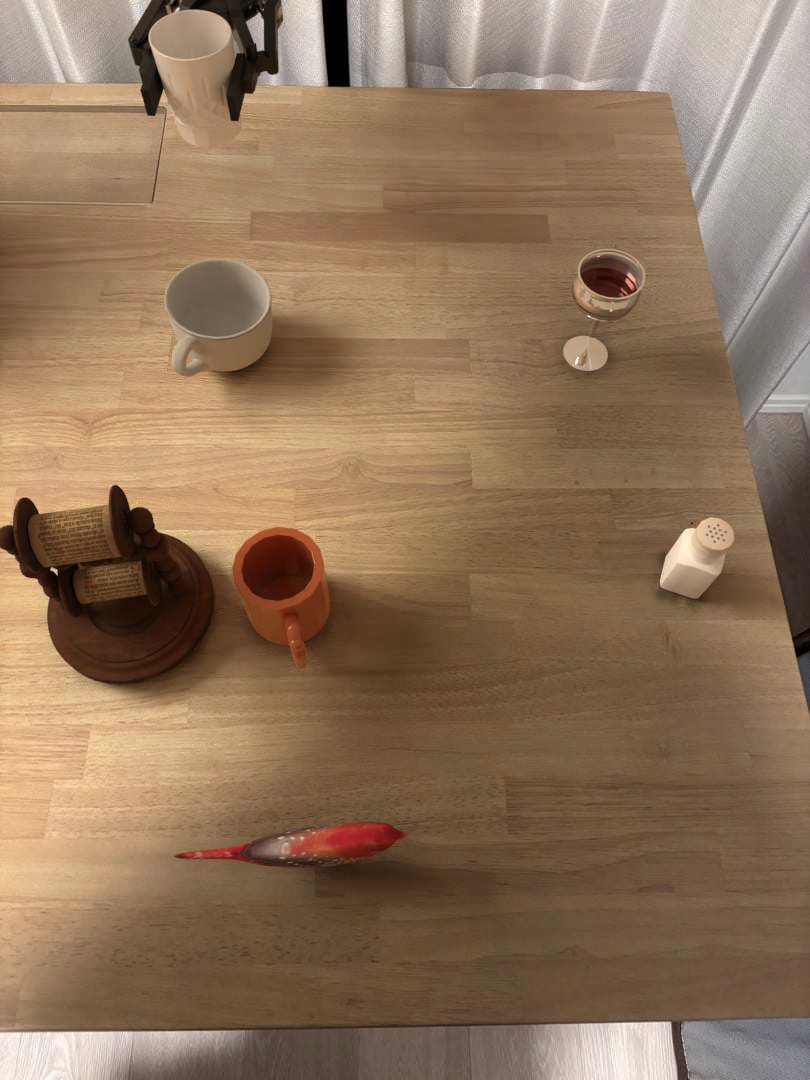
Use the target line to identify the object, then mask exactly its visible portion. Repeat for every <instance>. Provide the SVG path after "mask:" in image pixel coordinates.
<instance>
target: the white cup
mask: <svg viewBox="0 0 810 1080" xmlns="http://www.w3.org/2000/svg"><path fill="white" fill-rule="evenodd" d="M149 43H150V46H151V50H152V53H153V56H154V59H155V62H156V66H157V69H158V72H159V75H160V79H161V82H162V85H163V88H164V89H163V92H164V93H165V97H166V99H167V104H168V106H169V108H170V111H171V113H172V115H173V119H174V123H175V126H176V130H177V133H178V134H179V135H180V137H181V138H182V139H183V141H184V142H185V143H188V144H190V145H192V146H194V147H196V148H204V149H213V148H218V147H221V146H225V145H227V144H229V143H231V142H233V141H234V140H235V139H236V138H237V137H238V135H239V134H240V132H241V131H242V114H241V113H240V117H239V121H231V119H230V114H229V109H228V103H227V98H226V94H227V90H228V86H229V82H230V78H231V74H232V70H233V66H234V63H235V58H236V54H235V48H234V47H235V46H234V38H233V35H232V31H231V27H230V25H229V23H228V22H227V21H226V20H225V19H224V18H222V17H221V16H219V15H217V14H215V13H212V12H209V11H204V10H183V11H179V10H178V11H175V12H174V13H171V14H169V15H167V16H165V17H163V18H161V19H160V20H158V21H157V22H156V23H155V24H154V25H153V26H152V28H151V30H150V32H149Z"/></svg>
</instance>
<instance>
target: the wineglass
mask: <svg viewBox="0 0 810 1080" xmlns="http://www.w3.org/2000/svg"><path fill="white" fill-rule="evenodd" d="M645 282H646V271H645V269H644V267H643V266H642V264H641V262H640V261H639V260H637V258H635V257H634V256H632V255H631V254H630V253H627V252H625V251H622V250H618V249H615V248H601V249H596V250H592V251H591V252H589V253H587V254H585V255H584V256H583V258H582V259H581V260H580V261H579V264H578V266H577V272H576V274H575V277H574V279H573V282H572V286H571V287H572V288H571V289H572V297H573V301H574V304H575V305H576V307H577V309H578V310H579V311H580V312H581V313H582V314H583V315H585V316H586V317H588V318H590V319H591V320H592V321H591V325H590V330H589V333H588V335H578V336H574V337H572V338H570V339H568V340H567V342H565V344H564V346H563V349H562V355H563V357H564V359H565V362H567V363H568V365H569V366H571V367H572V368H574V369H576V370H579V371H583V372H593V371H598V370H599V369H601V368H603V367H604V365H606V363H607V361H608V358H609V353H608V349H607V347H606V346H605V344H603V342H601V341H600V340H599V339H597V338H595V334H596V331H597V329H598V326H599V324H600V322H610V323H611V322H614V321H619V320H621V319H623V318H624V317H627V315H629V314H630V313H631V312H632V311H633V309H634V308H635V307H636V306H637V304H638V302H639V300H640V297H641V294H642V293H641V292H642V288H644V285H645Z"/></svg>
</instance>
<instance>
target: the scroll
mask: <svg viewBox="0 0 810 1080" xmlns="http://www.w3.org/2000/svg"><path fill="white" fill-rule="evenodd" d="M108 493H109V494H108V504H103V505H97V506H90V507H81V508H74V509H67V510H60V511H52V512H45V513H43V512H42V513H40V512H39V510H38V508H37V506H36V504H35V503H34V501H32V499H31V498H29V497H26V496H24V497H21V498H19V500H17V502H16V504H15V506H14V509H13V516H12V524H6V525H3V526H1V527H0V549H1V550H3V551H6V552H7V553H8V554H9V555H12V556H14V558H15V560H16V561H17V563H18V565H19V570H20V573H21V574H22V576H23V577H25V578H27V579H33V580H37V583H38V584H39V586H40V587H41V588H42V591H43V593H44V595H45V596H46V597H48V598H49V599H48V604H47V611H46V621H47V629H48V634H49V637H50V640H51V642H52V644H53V647H54V648H55V650H56V651H57V653H58V654H59V656H60V657H61V658H62V659H63V660H64V662H65V663H67V664H68V665H69V666H70V667H71V668H72V669H73V670H74V671H76V672H77V673H79V674H80V675H82V676H83V677H85V678H88V679H90V680H92V681H95V682H97V683H102V684H106V685H111V686H112V685H113V686H129V685H137V684H142V683H148V682H150V681H153V680H156V679H157V678H161V677H162V676H165V675H167V674H168V673H170V672H172V671H173V670H176V668H178V667H179V666H180V665H182V664H183V663H184V662H185V661H186V660H188V659H189V658H190V656H192V655H194V654H195V652H196V650H197V649H198V647H199V646H200V645H201V643H202V642H203V640H204V639H205V637H206V635H207V633H208V631H209V628H210V626H211V623H212V620H213V615H214V610H215V601H216V600H215V588H214V584H213V580H212V578H211V575H210V572H209V570H208V569H207V566H206V565H205V563H204V561H203V560H202V558H201V556H199V554H198V553H197V552H196V551H195V550H194V549H193V548H192V547H191V546H190V545H188V544H187V543H185V542H184V541H182V540H180V539H179V538H177V537H175V536H173V535H170V534H167V533H163V532H159V531H158V530H157V528H156V524H155V522H154V517H153V513H152V512H151V511H150V510H149V509H148V508H146V507H143V506H136V507H133V508H131V507H130V503H129V500H128V498H127V495H126V493H125V491H124V490H123V489H122V488H121V487H120V486H119V485H118V484H113V485H112V486H111V487H110V489H109V492H108ZM52 569H54V570H57V571H56V572H57V573H56V572H55V571H54V570H52Z"/></svg>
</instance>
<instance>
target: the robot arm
mask: <svg viewBox="0 0 810 1080" xmlns="http://www.w3.org/2000/svg"><path fill="white" fill-rule="evenodd" d="M282 2H283V1H282V0H150V2H149V4H148V5H147V6H146V8H145V10H144V12H143V13H142V15H141V16H140V17H139V20H138V22H137V24H136V25H135V27H134V28H133V30H132V31H131V33H130V35H129V36H128V38H127V41H128V45H129V49H130V52H131V56H132V59H133V63H134V66H136V67H139V68H138V73H139V76H140V80H141V83H142V84H141V86H140V90H139V91H140V94H141V98H142V101H143V104H144V108H145V112H146V115H147V116H148V117H156V115H157V112H158V108H159V105H160V102H161V100H162V99H161V98H162V95H163V92H164V88H163V85H162V82H161V79H160V75H159V72H158V69H157V66H156V62H155V59H154V56H153V53H152V50H151V46H150V43H149V32H150V30H151V28H152V26H153V25H154V24H155V23H156V22H157V21H158V20H160V19H161V18H163V17H165V16H167V15H169V14H171V13H174V12H176V10H177V9H179V10H178V11H183V10H204V11H209V12H212V13H215V14H217V15H219V16H221V17H222V18H224V19H225V20H226V21H227V22H228V23H229V25H230V27H231V31H232V39H233V41H234V42H235V43H236V45H237V48H238V50H239V52H236V54H235V63H234V66H233V70H232V74H231V78H230V82H229V86H228V90H227V94H226V98H227V103H228V109H229V114H230V119H231V121H239V117H240V114H241V113H242V108H243V103H244V99H245V96H246V94H247V95H253V94H254V92H255V91H256V89H257V83H258V80H259V77H260V76H261V74H262V73H264V72H267V74H268V75H270V76H275V75H277V74H278V73H279V71H280V66H279V65H280V61H279V29H280V27H281V25H282V24H283V22H284V11H283V3H282ZM259 14H260V19H262V20H263V50H258V47H257V42H255V41H254V39H253V37H252V34H251V31H250V29H249V27H248V24H247V22H248V21H250V20H251V19H253V18H255V17H256V16H257V15H259Z"/></svg>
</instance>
